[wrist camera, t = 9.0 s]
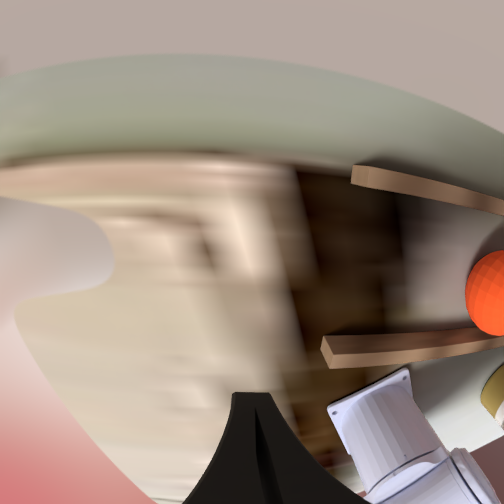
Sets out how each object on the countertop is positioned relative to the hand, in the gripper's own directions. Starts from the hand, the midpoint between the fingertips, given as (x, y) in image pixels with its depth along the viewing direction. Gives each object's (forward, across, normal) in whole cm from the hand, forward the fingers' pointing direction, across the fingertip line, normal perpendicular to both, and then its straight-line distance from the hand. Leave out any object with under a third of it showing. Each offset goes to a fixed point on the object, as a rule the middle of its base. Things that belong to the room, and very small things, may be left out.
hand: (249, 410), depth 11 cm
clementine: (+11, -21, -3) cm, 23 cm away
